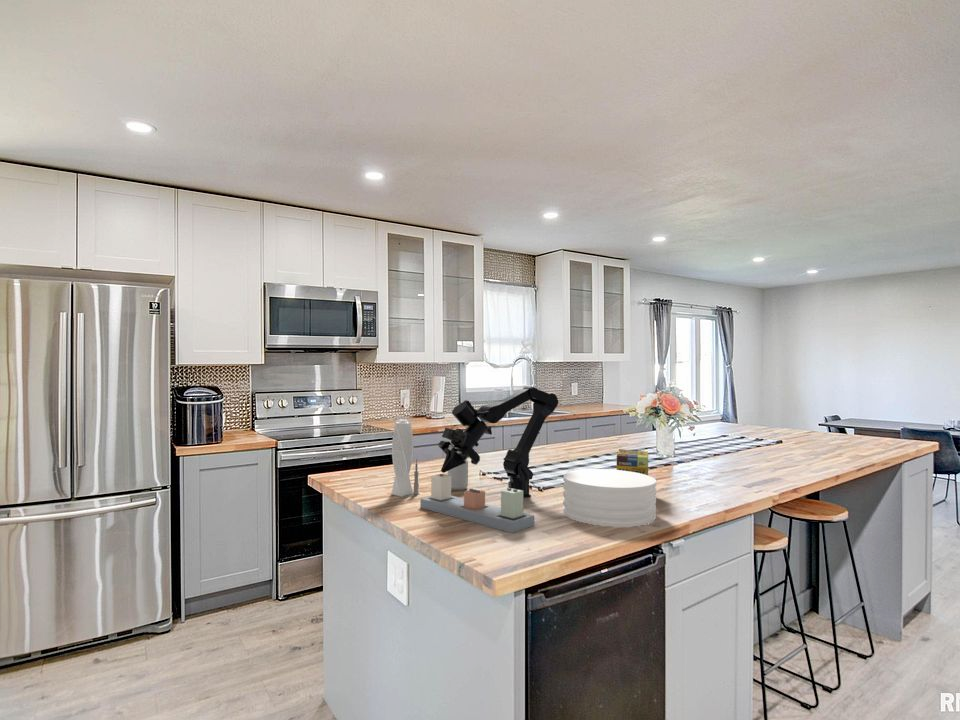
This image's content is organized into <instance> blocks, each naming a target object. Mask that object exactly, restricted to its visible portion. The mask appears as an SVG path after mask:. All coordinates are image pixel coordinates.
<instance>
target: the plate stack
mask: <svg viewBox="0 0 960 720" xmlns="http://www.w3.org/2000/svg"><path fill="white" fill-rule="evenodd" d="M563 481H564V482H563V484H562V487H563V492H562V493H563V494H562V497H563V498H562V501H563V502H562V505H563V508H562V513H563V515H565V517H567V518H568V519H571V520H573V521H575V520H576V522H578V521H579V523H582V522H583V524H586V523H588V524H587V525H591V524H593V526H597V525H600V526H599V527H605V526H613V527H612V528H633V527H632V526H638V527H641V526H640V525H644V526H646V525H645V524H648V523H651V522H653V521H654V520H655V519H656V520H657V514H656V512H657V505H656V504H657V497H656V495H657V488H656V487H657V480H656V478H654V476H653V477H652V476H651V475H649V474H648V475H645V474H641V473H636V472H630V471H622V470H616V469H611V468H609V469H607V468H586V469H576V470H571V471H567V472H565V473H564V474H563ZM656 520H655V521H656ZM655 521H654V522H655ZM654 522H653V523H654ZM651 524H652V523H651ZM601 525H602V526H601ZM648 525H649V524H648Z"/></svg>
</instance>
